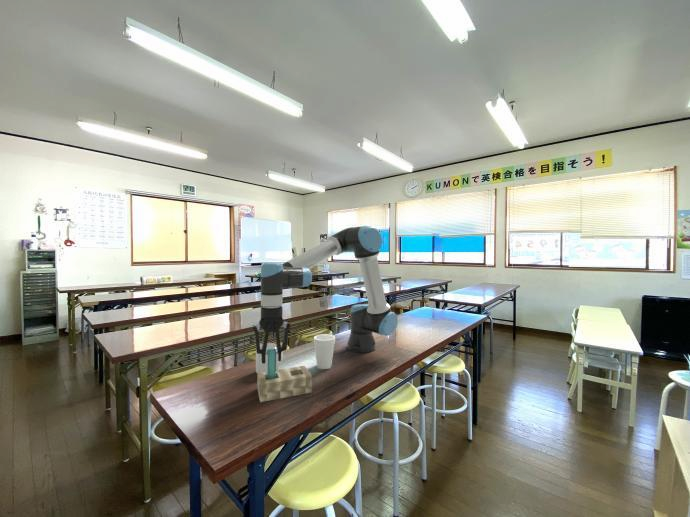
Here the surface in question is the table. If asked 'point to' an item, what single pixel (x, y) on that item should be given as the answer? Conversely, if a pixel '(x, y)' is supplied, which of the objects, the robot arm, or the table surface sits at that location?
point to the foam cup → (324, 350)
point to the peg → (271, 364)
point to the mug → (259, 365)
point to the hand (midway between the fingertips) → (271, 370)
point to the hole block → (284, 383)
